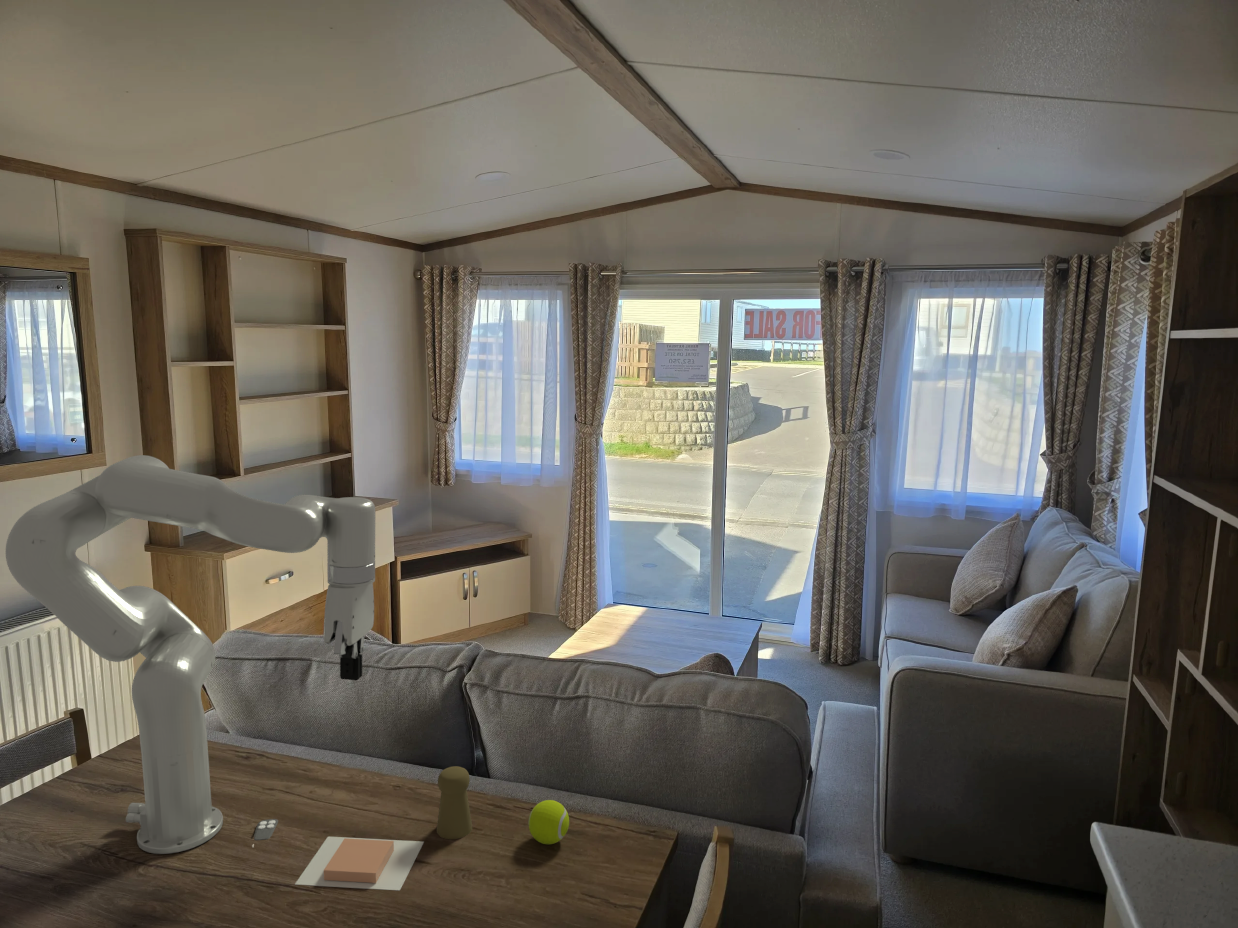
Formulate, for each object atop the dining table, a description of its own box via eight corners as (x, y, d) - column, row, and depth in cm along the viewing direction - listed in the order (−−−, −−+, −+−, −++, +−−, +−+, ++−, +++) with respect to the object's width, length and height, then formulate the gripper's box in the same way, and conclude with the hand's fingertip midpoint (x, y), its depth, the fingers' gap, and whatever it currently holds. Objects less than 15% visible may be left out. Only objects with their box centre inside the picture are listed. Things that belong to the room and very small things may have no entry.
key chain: (257, 826, 140) (256, 818, 140) (280, 824, 141) (280, 816, 141) (237, 875, 128) (236, 866, 127) (262, 872, 128) (262, 863, 128)
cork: (464, 844, 135) (463, 782, 133) (430, 839, 136) (428, 777, 135) (478, 823, 141) (477, 763, 139) (445, 819, 142) (443, 759, 140)
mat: (295, 887, 124) (294, 883, 124) (328, 839, 136) (327, 836, 136) (399, 893, 123) (399, 889, 123) (424, 844, 135) (423, 841, 135)
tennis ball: (539, 825, 141) (539, 788, 140) (575, 833, 139) (575, 796, 138) (521, 847, 135) (521, 809, 134) (558, 856, 132) (558, 818, 131)
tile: (344, 848, 133) (324, 880, 125) (344, 838, 133) (323, 869, 125) (393, 850, 132) (376, 883, 124) (393, 840, 132) (375, 872, 124)
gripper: (349, 559, 145) (348, 659, 148) (308, 583, 130) (308, 693, 133) (390, 562, 144) (389, 663, 147) (354, 587, 130) (353, 698, 132)
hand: (351, 677), depth 140 cm, fingers closed
